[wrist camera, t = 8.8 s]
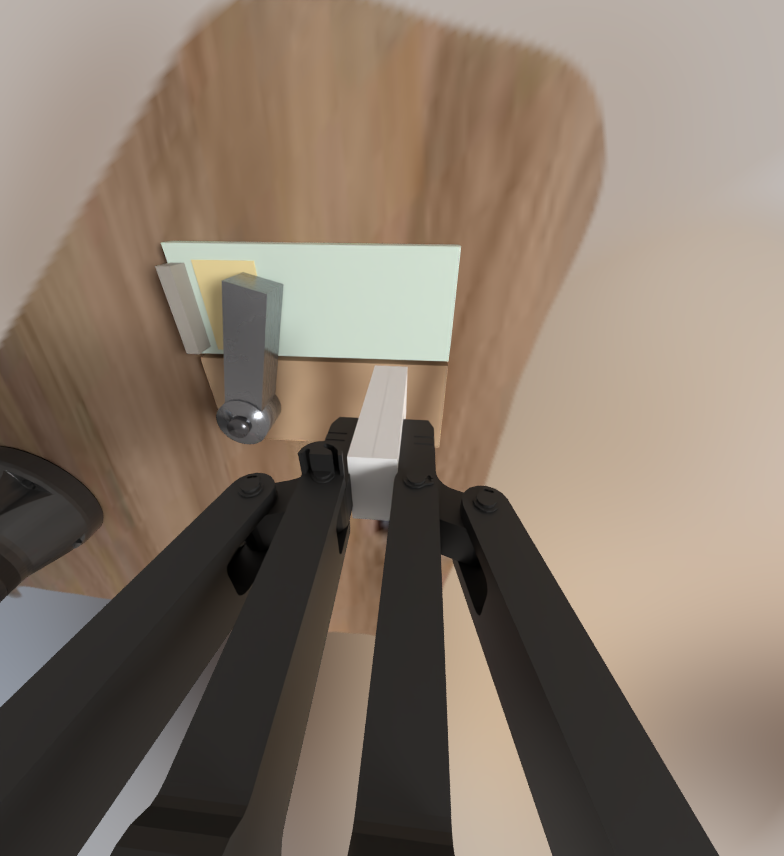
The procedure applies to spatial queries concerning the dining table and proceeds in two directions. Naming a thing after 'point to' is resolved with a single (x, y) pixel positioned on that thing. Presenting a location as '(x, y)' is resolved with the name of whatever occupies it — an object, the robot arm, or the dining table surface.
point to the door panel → (323, 295)
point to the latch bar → (250, 356)
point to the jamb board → (337, 392)
